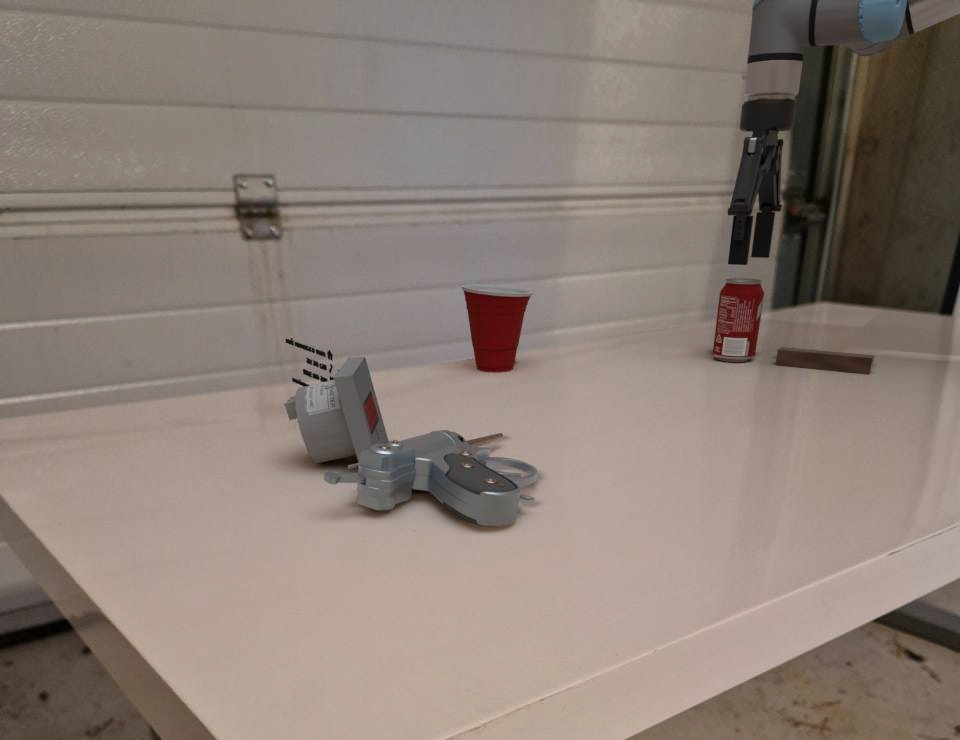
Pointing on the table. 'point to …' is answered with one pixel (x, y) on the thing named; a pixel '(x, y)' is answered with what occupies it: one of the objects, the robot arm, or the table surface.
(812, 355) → the walnut stick
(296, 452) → the table surface
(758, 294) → the soda can
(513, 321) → the plastic cup
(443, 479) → the grey metal jointed piece
